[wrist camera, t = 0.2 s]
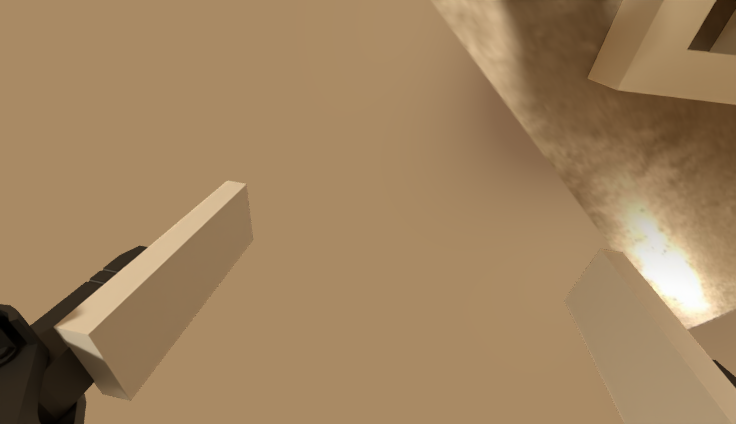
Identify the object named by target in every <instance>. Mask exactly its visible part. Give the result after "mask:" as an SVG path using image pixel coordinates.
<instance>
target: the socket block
mask: <svg viewBox="0 0 736 424" xmlns="http://www.w3.org/2000/svg"><path fill="white" fill-rule="evenodd" d="M715 1H716V0H622V2H621V5H620V7H619V9H618V11H617V14H616V16H615V18H614V20H613V22H612V25H611V27H610V29H609V31H608V33H607V36H606V38H605V40H604V42H603V45H602V47H601V49H600V51H599V53H598V56H597V58H596V60H595V62H594V64H593V67H592V69H591V71H590V73H589V75H588V78H587V79H590V80H592V81H595V82H597V83H600V84H602V85H605V86H608V87H610V88H613V89H615V90H618V91H627V92H635V93H643V94H651V95H660V96H668V97H676V98H684V99H693V100H701V101H709V102H717V103H725V104H734V105H736V10H735V11H734V13H733V14H732V16H731V18H730V19H729V21H728V22H727V24H726V25H725V27H724V29H723V30H722V32H721V33H720V35H719V37H718V38H717V40H716V41H715V43H714V45H713V46H712V48H711V49H710V51H700V50H691V49H688V47H689V45H690V44H691V42H692V40H693V39H694V37H695V35H696V34H697V32H698V30H699V28H700V27H701V25H702V23H703V22H704V20H705V18H706V17H707V15H708V13H709V12H710V10H711V8H712V6H713V5H714V3H715Z"/></svg>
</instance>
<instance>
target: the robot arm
mask: <svg viewBox="0 0 736 424" xmlns="http://www.w3.org/2000/svg"><path fill="white" fill-rule="evenodd" d="M252 241H253V235H252V227H251V218H250V209H249V201H248V193H247V185H246V184H243V183H238V182H232V181H226V182H225V183H224V184H223V185H222V186H220V187H219V188H218V189H217V190H216V191H214V192H213V193H212V194H211V195H210V196H209V197H207V198H206V199H205V200H204V201H203V202H201V203H200V204H199V205H198V206H197V207H195V208H194V209H193V210H192V211H191V212H190V213H188V214H187V215H186V216H185V217H184V218H182V219H181V220H180V221H179V222H178V223H176V224H175V225H174V226H173V227H172V228H170V229H169V230H168V231H167V232H166V233H165V234H163V235H162V236H161V237H160V238H159V239H157V240H156V241H155V242H154V243H153V244H151V245H150V246H149V247H144V246H138V247H136V248H134V249H132V250H130V251H128V252H125V253H123V254H122V255H119V256H118V257H117V258H116V259H114V260H113V261H112V262H110V263H109V264H108V265H107V266H105V267H104V269H103V271H99V272H98V273H97V274H95V275H94V276H93V277H91V278H90V281H89V282H85V283H84V284H83V285H81V286H80V287H79V288H78V289H76V290H75V291H74V292H72V293H71V294H70V295H69V296H68V297H66V298H65V299H64V300H62V301H61V302H60V303H59V304H57V305H56V306H55V307H53V308H52V309H51V310H50V311H48V313H46V314H45V315H43V316H42V317H41V318H40V319H38V320H37V321H36V322H34V323H33V324H32V325H30V326H29V325H28V323H27V322H26V321H25V320H24V318H23V317H22V316H21V315H20V313H19V312H18V311H17V310H16V309H15V308H13V307H12V306H10V305H2V304H0V424H84V417H85V408H86V399H85V394H84V393H85V391H86V390H87V389H88V388H89V387H90V386H91V385H92V383H95V384H96V386H97V387H98V388H99V390H100V391H101V392H102V394H105V395H109V396H113V397H117V398H122V399H126V400H130V401H131V400H132V398H133V397H134V396H135V394H136V393H137V392H138V391H139V389H140V388H141V387H142V385H143V384H144V383H145V381H146V380H147V379H148V377H149V376H150V375H151V373H152V372H153V371H154V370H155V368H156V367H157V366H158V364H159V363H160V362H161V360H162V359H163V358H164V356H165V355H166V354H167V352H168V351H169V350H170V349H171V347H172V346H173V345H174V343H175V342H176V341H177V339H178V338H179V337H180V335H181V334H182V333H183V331H184V330H185V329H186V327H187V326H188V325H189V324H190V322H191V321H192V320H193V318H194V317H195V316H196V314H197V313H198V312H199V310H200V309H201V308H202V306H203V305H204V303H206V301H207V300H208V299H209V297H210V296H211V295H212V293H213V292H214V291H215V289H216V288H217V287H218V285H219V284H220V283H221V282H222V280H223V279H224V278H225V276H226V275H227V273H228V272H229V271H230V270H231V268H232V267H233V266H234V264H235V263H236V262H237V261H238V259H239V258H240V256H241V255H242V254H243V252H244V251H245V250H246V249H247V247H248V246H249V245H250V243H251V242H252ZM564 302H565V304H566V306H567V308H568V310H569V312H570V314H571V316H572V318H573V320H574V322H575V324H576V326H577V328H578V330H579V332H580V334H581V336H582V339H583V341H584V343H585V345H586V347H587V349H588V351H589V353H590V355H591V357H592V359H593V361H594V363H595V365H596V367H597V369H598V371H599V373H600V375H601V377H602V380H603V381H604V384H605V386H606V388H607V390H608V392H609V394H610V396H611V398H612V400H613V402H614V404H615V406H616V408H617V410H618V412H619V414H620V416H621V418H622V421H623V423H624V424H736V377H735V376H734V375H732V374H731V373H730V372H729V371H728V370H726V369H725V368H724V367H723V366H722V365H721V364H719V363H718V362H717V361H716V360H712V359H711V358H710V357H709V356H708V355H707V353H706V352H705V351H704V350H703V348H702V347H701V346H700V345H699V344H698V342H697V341H696V340H695V339H694V338H693V337H692V335H691V334H690V333H689V332H688V330H687V329H686V328H685V327H684V326H683V324H682V323H681V322H680V321H679V320H678V318H677V317H676V316H675V315H674V314H673V312H672V311H671V310H670V309H669V308H668V306H667V305H666V304H665V303H664V302H663V300H662V299H661V298H660V297H659V296H658V294H657V293H656V292H655V291H654V290H653V288H652V287H651V286H650V285H649V284H648V282H647V281H646V280H645V279H644V278H643V276H642V275H641V274H640V273H639V272H638V270H637V269H636V268H635V267H634V266H633V264H632V263H631V262H630V261H629V260H628V258H627V257H626V256H625V255H624V254H623V253H622V252H617V251H611V250H605V249H600V250H599V251H598V253H597V254H596V255H595V257H594V258H593V260H592V261H591V262H590V264H589V266H588V267H587V268H586V270H585V271H584V272H583V274H582V275H581V277H580V278H579V280H578V281H577V282H576V284H575V285H574V287H573V288H572V290H571V291H570V292H569V294H568V295H567V297H566V298H565V300H564Z"/></svg>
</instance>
